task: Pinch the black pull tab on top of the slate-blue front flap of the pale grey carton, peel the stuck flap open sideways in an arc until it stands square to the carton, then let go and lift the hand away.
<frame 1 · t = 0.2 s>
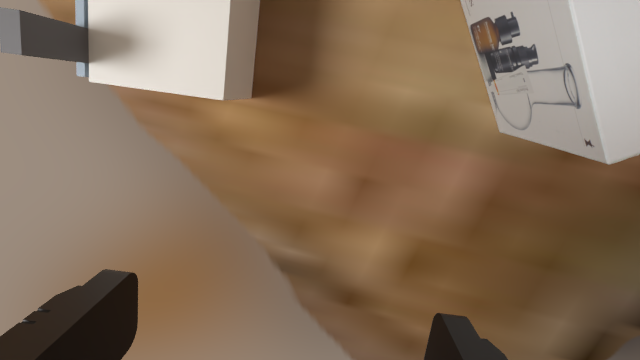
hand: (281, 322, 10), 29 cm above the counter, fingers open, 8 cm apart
carton: (206, 17, 35), on the counter
skincare box: (490, 23, 35), on the counter
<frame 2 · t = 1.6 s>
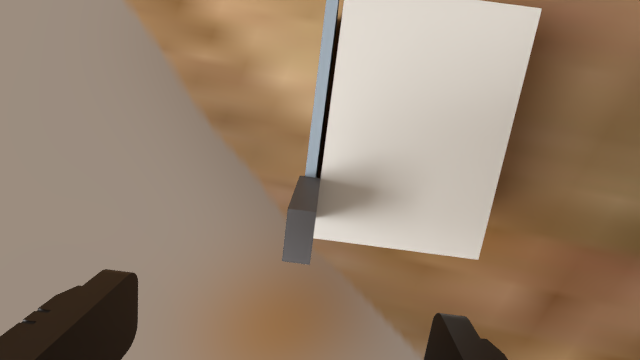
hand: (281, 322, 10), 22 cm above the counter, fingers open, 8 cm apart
carton: (389, 118, 30), on the counter
front flap: (318, 115, 22), point 8 cm above the counter, hinge at 0.0°
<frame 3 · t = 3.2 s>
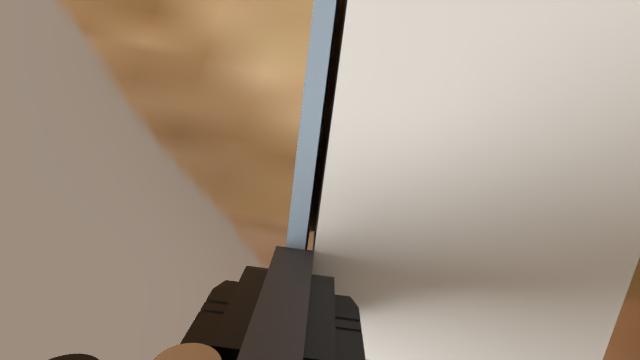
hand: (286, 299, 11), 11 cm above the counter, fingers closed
carton: (417, 132, 21), on the counter
front flap: (311, 134, 13), point 8 cm above the counter, hinge at 0.0°, touching gripper
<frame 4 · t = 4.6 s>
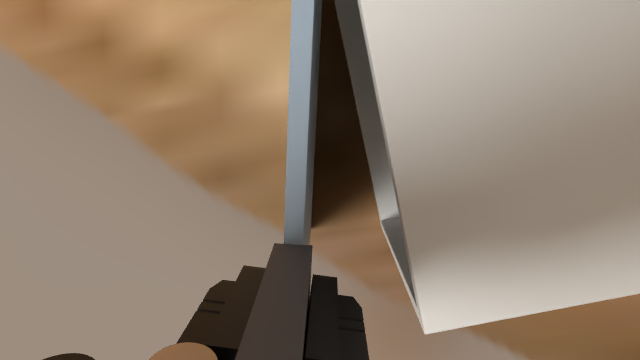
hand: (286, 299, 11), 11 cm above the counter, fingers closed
carton: (446, 90, 20), on the counter
front flap: (301, 130, 13), point 8 cm above the counter, hinge at 16.3°, touching gripper
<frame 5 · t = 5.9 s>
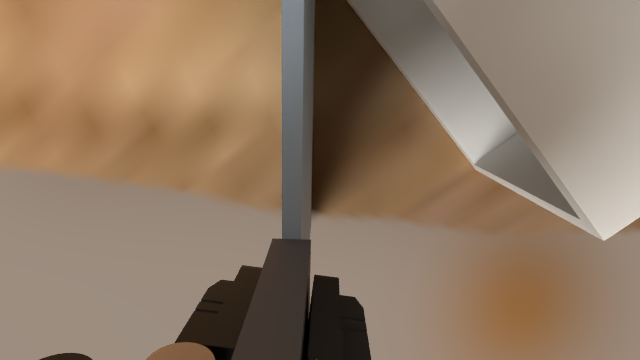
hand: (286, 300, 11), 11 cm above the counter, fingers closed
carton: (479, 8, 19), on the counter
front flap: (297, 124, 13), point 8 cm above the counter, hinge at 41.6°, touching gripper
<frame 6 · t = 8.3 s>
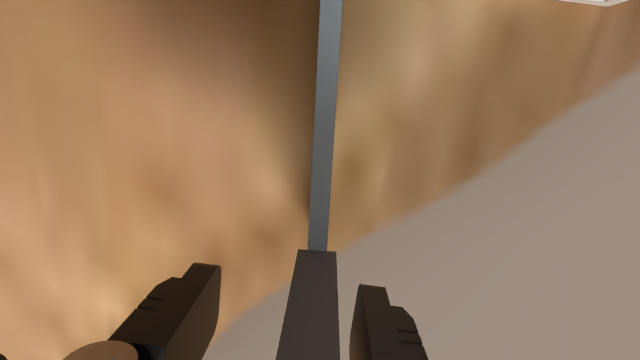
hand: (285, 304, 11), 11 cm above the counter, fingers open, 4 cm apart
front flap: (324, 136, 13), point 8 cm above the counter, hinge at 85.9°
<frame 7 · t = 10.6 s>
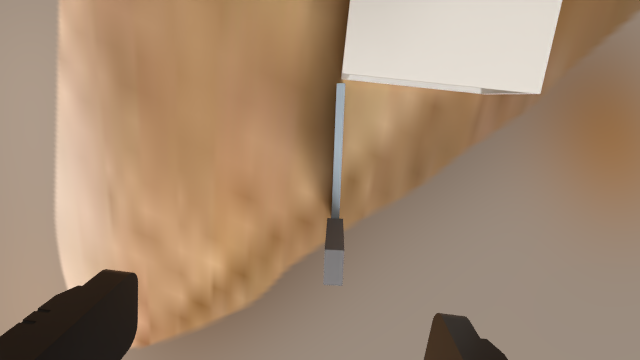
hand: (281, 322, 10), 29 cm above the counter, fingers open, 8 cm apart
carton: (421, 32, 35), on the counter
front flap: (337, 170, 30), point 8 cm above the counter, hinge at 85.9°
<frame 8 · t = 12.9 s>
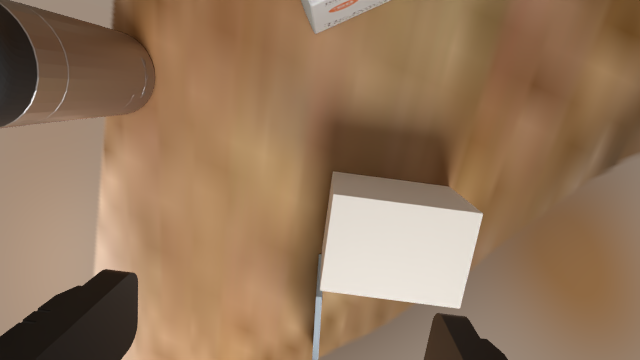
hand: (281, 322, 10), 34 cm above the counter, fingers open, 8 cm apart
carton: (383, 218, 45), on the counter
front flap: (316, 343, 40), point 8 cm above the counter, hinge at 85.9°
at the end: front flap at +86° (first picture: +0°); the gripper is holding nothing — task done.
